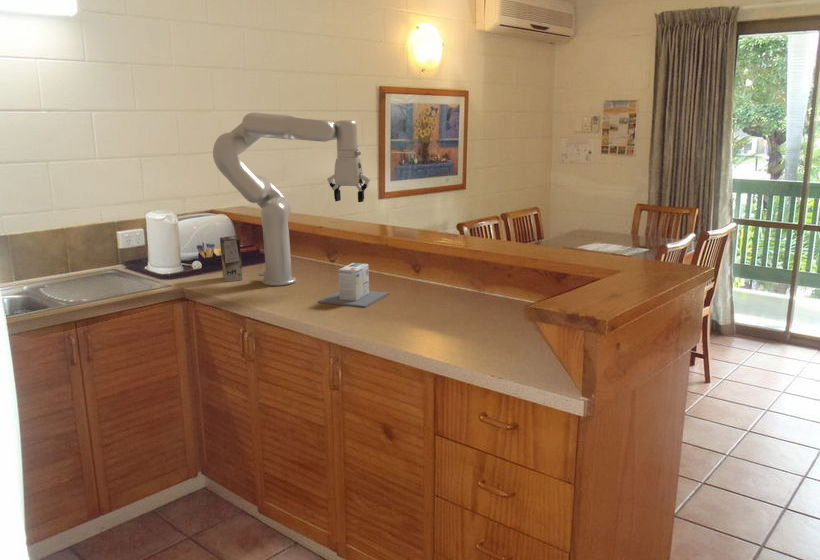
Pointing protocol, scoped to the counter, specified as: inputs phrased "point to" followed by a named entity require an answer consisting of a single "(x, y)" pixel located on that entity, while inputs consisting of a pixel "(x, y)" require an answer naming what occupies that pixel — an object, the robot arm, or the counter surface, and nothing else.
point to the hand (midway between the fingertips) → (349, 201)
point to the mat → (361, 302)
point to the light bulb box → (353, 281)
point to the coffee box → (231, 258)
